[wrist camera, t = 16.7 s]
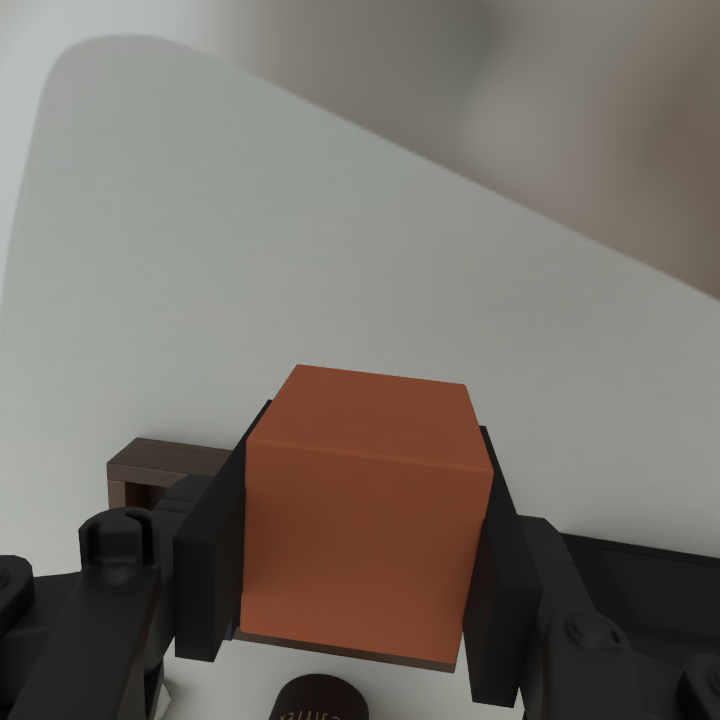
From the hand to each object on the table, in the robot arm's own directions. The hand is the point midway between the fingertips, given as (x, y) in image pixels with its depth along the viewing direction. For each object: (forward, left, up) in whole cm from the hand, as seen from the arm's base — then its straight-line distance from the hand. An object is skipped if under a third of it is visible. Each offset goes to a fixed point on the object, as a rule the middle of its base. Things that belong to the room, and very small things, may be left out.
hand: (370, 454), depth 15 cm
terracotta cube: (0, 0, 0) cm, 0 cm away
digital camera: (+13, +16, -12) cm, 24 cm away
